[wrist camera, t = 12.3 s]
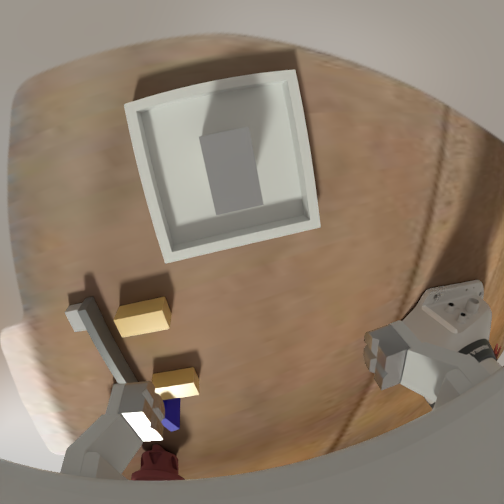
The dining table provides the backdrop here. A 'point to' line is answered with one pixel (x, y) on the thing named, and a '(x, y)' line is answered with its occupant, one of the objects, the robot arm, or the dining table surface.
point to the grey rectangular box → (231, 170)
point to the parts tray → (193, 167)
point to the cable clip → (172, 414)
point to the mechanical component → (157, 466)
